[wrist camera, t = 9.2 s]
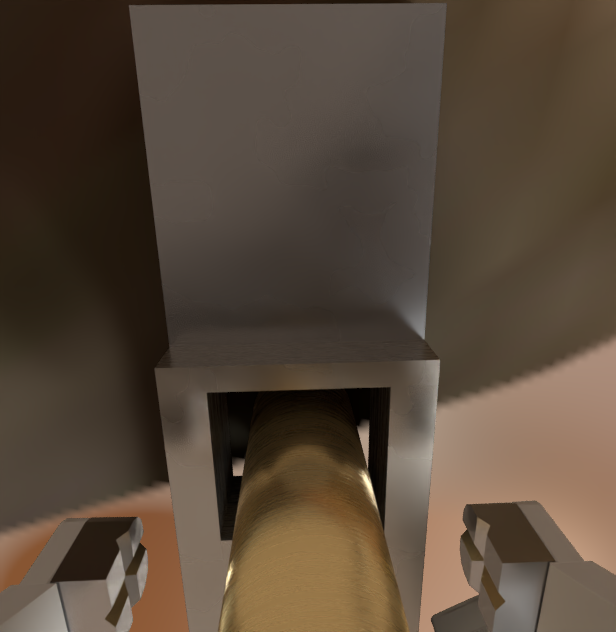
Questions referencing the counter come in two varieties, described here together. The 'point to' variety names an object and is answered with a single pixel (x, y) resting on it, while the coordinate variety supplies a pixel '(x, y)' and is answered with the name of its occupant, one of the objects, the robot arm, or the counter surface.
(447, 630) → the skincare box
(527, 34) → the counter surface
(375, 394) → the bar with square hole
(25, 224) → the counter surface
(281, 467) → the pin
